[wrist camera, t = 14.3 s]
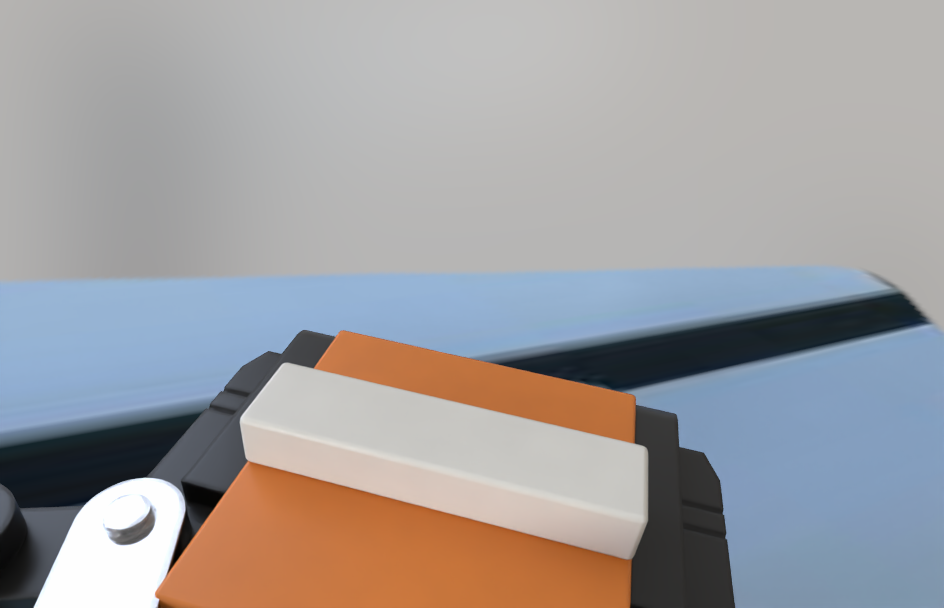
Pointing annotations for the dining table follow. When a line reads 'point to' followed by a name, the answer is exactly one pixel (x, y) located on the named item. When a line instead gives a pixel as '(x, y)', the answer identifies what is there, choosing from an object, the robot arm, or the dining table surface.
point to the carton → (422, 490)
